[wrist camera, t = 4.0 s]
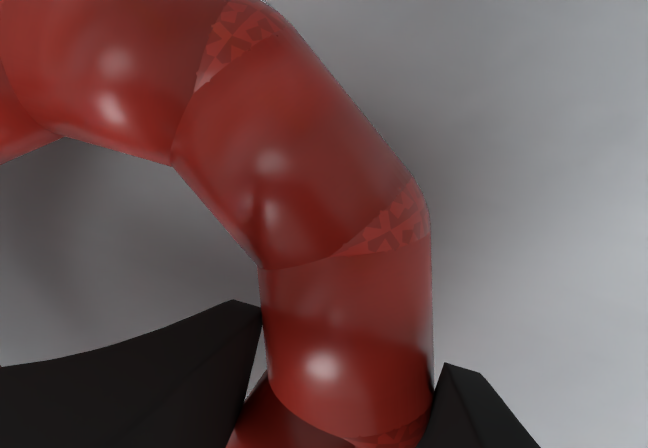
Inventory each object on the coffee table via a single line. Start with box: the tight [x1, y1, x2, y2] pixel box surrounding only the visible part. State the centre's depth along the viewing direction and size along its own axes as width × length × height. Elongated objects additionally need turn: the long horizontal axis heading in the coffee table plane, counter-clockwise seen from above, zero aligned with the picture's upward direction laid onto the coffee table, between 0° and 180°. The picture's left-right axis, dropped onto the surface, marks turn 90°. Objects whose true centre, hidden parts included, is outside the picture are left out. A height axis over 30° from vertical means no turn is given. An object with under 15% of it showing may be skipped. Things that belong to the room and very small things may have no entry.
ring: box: [0, 0, 434, 448], centre depth 11 cm, size 12×12×3 cm
